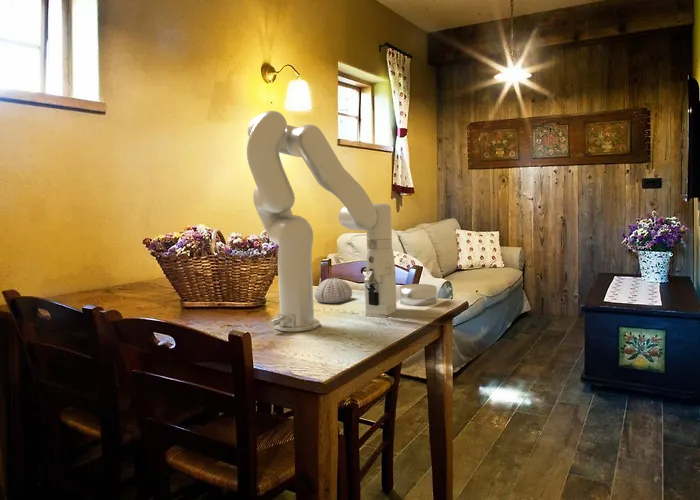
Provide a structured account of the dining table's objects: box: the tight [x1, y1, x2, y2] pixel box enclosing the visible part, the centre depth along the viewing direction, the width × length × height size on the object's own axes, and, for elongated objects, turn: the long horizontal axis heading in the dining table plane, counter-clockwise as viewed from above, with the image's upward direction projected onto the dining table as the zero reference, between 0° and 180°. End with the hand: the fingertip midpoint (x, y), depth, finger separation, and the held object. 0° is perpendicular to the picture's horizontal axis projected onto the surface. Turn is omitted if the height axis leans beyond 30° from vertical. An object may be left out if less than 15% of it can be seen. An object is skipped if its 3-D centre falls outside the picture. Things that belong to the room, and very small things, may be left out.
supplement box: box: [363, 272, 398, 319], centre depth 163 cm, size 7×7×13 cm
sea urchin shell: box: [313, 277, 353, 304], centre depth 186 cm, size 13×14×8 cm
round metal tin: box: [399, 283, 438, 306], centre depth 175 cm, size 12×12×5 cm
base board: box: [396, 298, 448, 311], centre depth 174 cm, size 18×14×1 cm
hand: (380, 301), depth 163 cm, fingers closed on supplement box, 7 cm apart
